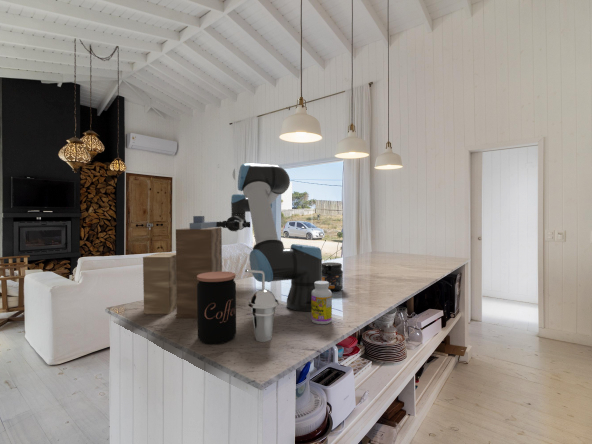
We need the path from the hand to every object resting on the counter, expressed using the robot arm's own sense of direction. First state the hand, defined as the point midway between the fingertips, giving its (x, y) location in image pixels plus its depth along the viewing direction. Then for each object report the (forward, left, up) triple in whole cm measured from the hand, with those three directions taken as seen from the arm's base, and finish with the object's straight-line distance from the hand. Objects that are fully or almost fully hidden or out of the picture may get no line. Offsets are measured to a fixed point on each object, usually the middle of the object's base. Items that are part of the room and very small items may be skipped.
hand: (225, 225), depth 145 cm
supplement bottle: (-56, +9, -30) cm, 64 cm away
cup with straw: (-50, +31, -30) cm, 66 cm away
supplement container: (-37, -31, -30) cm, 57 cm away
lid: (-12, +21, 0) cm, 24 cm away
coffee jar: (-39, +38, -30) cm, 63 cm away
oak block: (0, +30, -30) cm, 43 cm away
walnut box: (-15, +25, -30) cm, 42 cm away
